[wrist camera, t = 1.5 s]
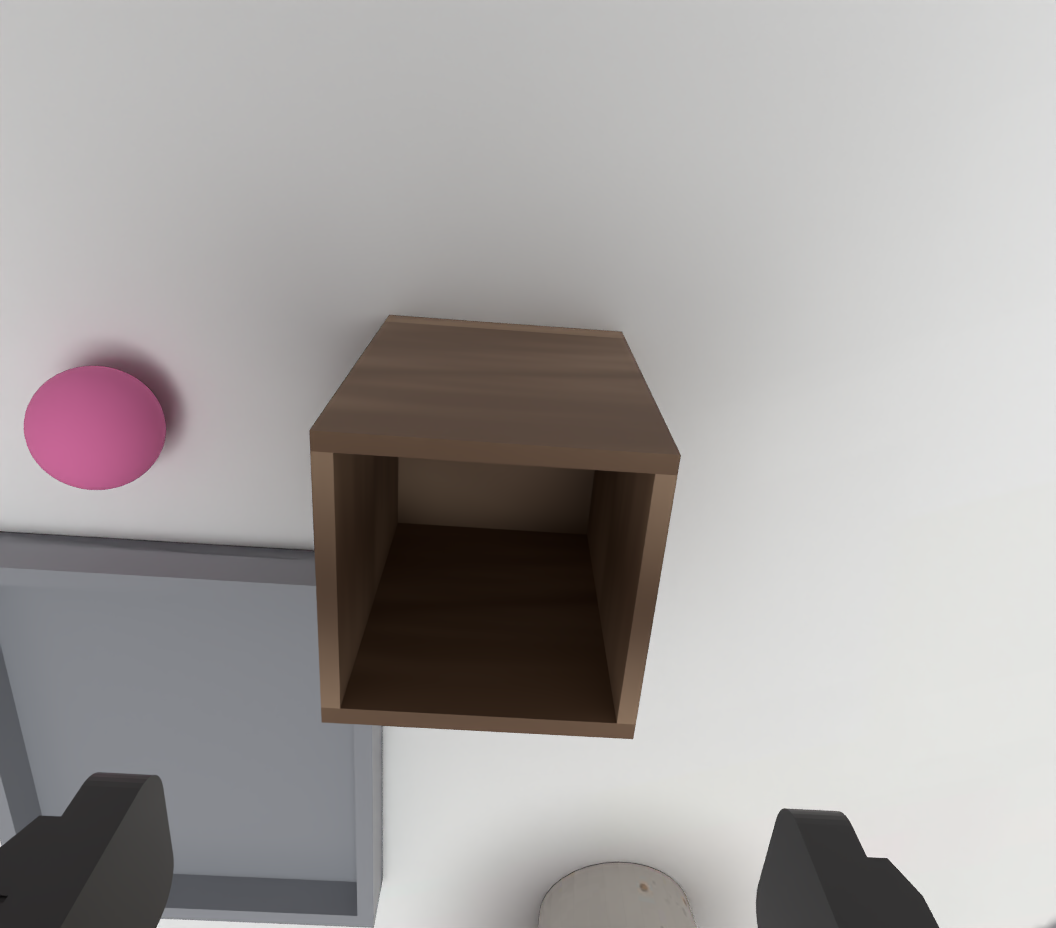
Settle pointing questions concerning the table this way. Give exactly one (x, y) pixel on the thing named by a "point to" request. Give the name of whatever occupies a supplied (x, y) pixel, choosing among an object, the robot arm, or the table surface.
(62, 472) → the ball
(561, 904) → the coffee cup
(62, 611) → the tray
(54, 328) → the table surface
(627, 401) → the pen cup
